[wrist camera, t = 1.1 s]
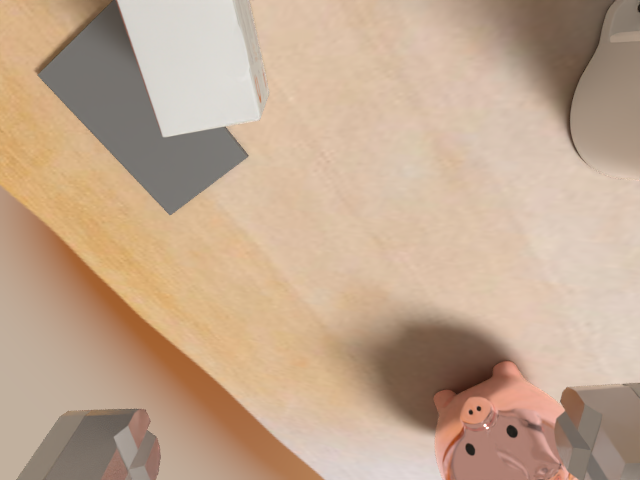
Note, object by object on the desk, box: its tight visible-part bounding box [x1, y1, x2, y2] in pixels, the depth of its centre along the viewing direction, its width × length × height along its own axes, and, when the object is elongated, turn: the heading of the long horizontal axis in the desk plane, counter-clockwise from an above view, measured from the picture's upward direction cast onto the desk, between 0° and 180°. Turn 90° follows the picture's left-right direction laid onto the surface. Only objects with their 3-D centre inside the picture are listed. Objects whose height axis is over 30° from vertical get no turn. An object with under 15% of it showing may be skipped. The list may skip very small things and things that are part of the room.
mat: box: [38, 0, 248, 215], centre depth 38 cm, size 10×16×1 cm, turn 36°
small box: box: [116, 0, 269, 137], centre depth 30 cm, size 8×6×13 cm
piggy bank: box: [433, 361, 578, 480], centre depth 46 cm, size 15×18×16 cm
